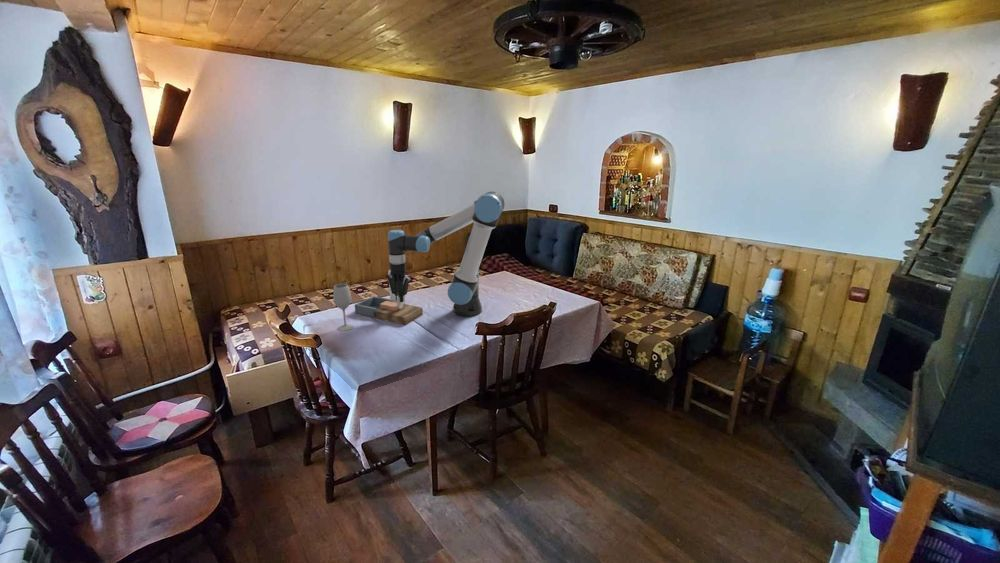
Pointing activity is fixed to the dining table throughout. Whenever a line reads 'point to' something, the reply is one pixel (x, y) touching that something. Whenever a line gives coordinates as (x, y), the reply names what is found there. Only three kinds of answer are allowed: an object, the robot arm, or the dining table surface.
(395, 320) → the board
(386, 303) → the tile
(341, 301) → the wineglass
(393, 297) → the milk
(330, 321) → the dining table surface
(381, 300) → the tray
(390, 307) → the tile
